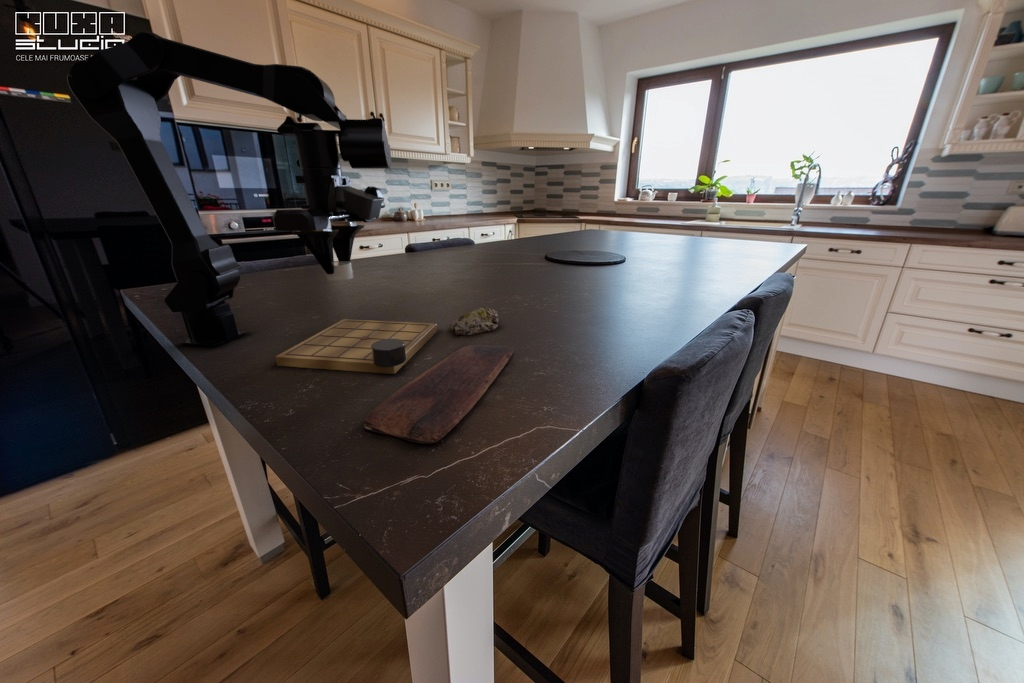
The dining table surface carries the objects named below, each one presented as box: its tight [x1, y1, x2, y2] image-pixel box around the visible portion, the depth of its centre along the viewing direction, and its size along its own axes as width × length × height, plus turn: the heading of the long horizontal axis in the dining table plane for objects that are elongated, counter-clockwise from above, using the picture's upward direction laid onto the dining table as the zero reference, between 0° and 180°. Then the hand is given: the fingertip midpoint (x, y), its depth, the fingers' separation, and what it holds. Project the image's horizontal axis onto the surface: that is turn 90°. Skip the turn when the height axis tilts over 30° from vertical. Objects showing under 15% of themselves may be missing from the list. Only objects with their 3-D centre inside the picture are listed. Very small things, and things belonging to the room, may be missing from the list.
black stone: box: [371, 339, 406, 367], centre depth 55 cm, size 4×4×2 cm
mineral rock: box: [450, 307, 500, 336], centre depth 73 cm, size 11×4×8 cm
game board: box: [275, 318, 438, 375], centre depth 64 cm, size 18×18×2 cm
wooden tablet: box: [362, 344, 514, 445], centre depth 51 cm, size 26×2×10 cm
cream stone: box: [323, 260, 355, 282], centre depth 66 cm, size 4×4×2 cm
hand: (338, 271), depth 66 cm, fingers closed on cream stone, 4 cm apart
